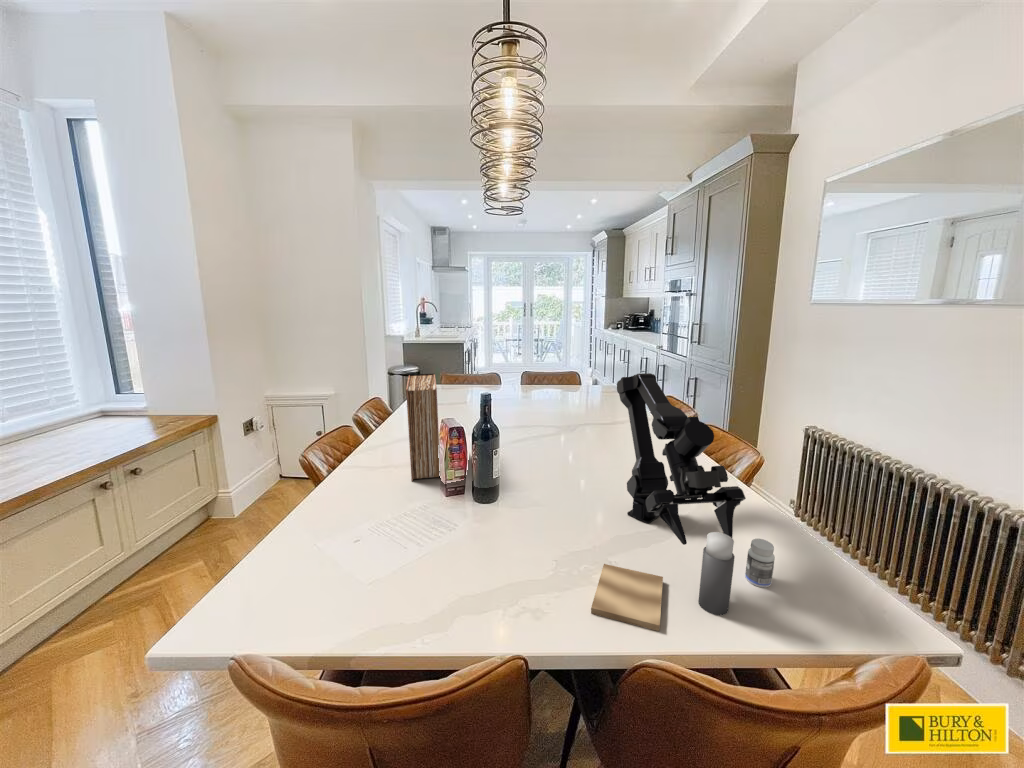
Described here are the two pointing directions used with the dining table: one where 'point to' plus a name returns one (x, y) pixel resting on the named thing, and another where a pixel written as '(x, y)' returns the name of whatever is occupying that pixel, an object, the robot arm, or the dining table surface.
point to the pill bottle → (760, 563)
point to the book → (423, 425)
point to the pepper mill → (716, 574)
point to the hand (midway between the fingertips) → (707, 542)
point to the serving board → (629, 597)
